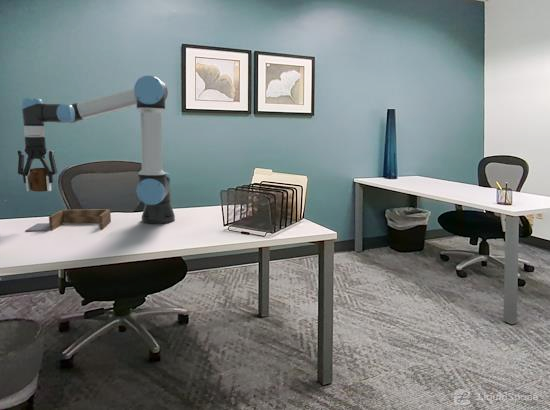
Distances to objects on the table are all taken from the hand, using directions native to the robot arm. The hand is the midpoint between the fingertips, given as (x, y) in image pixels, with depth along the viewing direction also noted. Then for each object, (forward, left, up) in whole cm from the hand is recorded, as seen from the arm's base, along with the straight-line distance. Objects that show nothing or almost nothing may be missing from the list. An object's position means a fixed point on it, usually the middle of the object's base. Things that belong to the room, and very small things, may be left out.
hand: (39, 190), depth 185 cm
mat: (0, 0, -16) cm, 16 cm away
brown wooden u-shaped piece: (-16, -2, -16) cm, 23 cm away
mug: (0, 0, 0) cm, 0 cm away
